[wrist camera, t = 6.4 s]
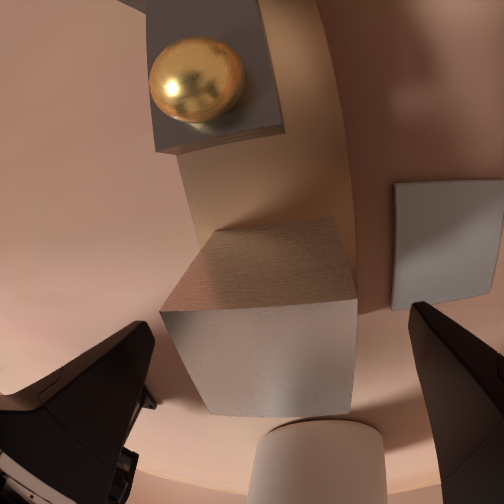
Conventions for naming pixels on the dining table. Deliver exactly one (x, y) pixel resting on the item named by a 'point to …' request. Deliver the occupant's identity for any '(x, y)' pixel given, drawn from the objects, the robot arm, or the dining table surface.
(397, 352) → the dining table surface
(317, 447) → the cylinder vase
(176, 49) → the lever
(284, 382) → the cap block
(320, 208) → the plane body
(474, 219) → the rubber mat
